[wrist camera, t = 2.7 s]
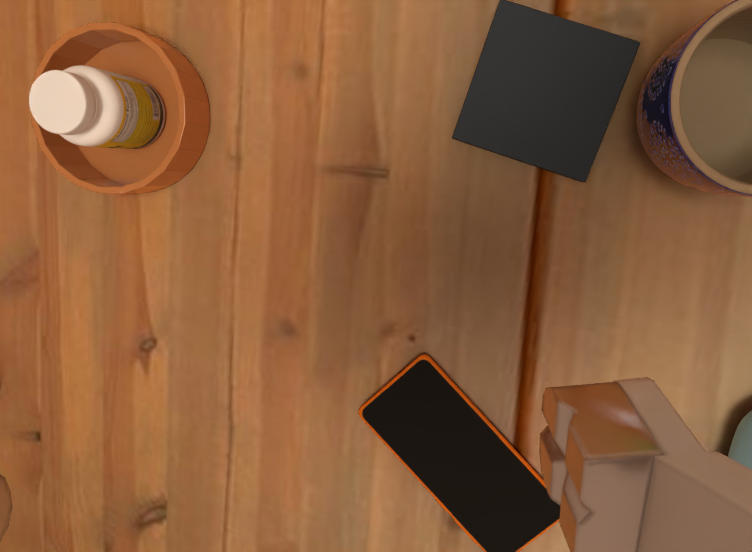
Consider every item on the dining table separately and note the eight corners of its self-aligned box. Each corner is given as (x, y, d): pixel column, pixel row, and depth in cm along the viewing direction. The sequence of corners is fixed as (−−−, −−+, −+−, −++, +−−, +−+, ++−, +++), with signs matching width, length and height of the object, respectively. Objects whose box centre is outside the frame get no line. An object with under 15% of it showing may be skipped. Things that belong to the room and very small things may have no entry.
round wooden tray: (87, 16, 51) (50, 0, 47) (228, 63, 50) (204, 52, 45) (53, 164, 53) (15, 163, 49) (187, 212, 52) (160, 216, 48)
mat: (500, 1, 46) (500, -2, 45) (638, 44, 45) (640, 42, 44) (452, 138, 48) (451, 137, 47) (583, 182, 47) (585, 182, 46)
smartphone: (425, 349, 51) (424, 352, 50) (570, 507, 51) (572, 512, 50) (355, 410, 52) (353, 414, 51) (496, 562, 52) (497, 569, 52)
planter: (617, 191, 47) (660, 196, 36) (629, 32, 45) (677, -14, 34) (781, 195, 45) (878, 200, 34) (800, 30, 44) (908, -19, 33)
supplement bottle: (91, 125, 52) (4, 114, 42) (123, 65, 51) (40, 39, 41) (147, 163, 52) (72, 160, 42) (180, 103, 50) (110, 86, 41)
